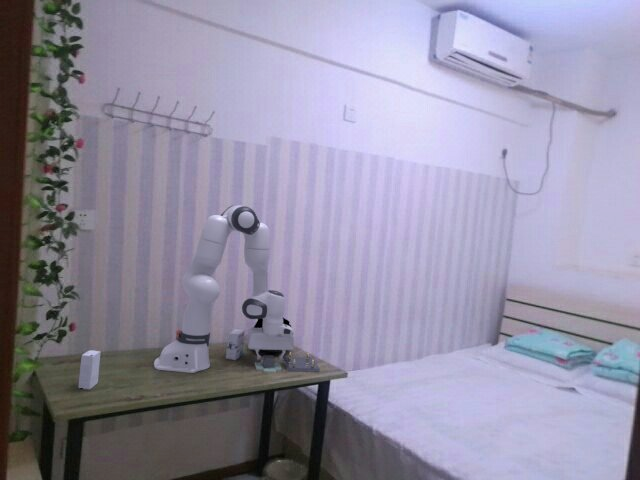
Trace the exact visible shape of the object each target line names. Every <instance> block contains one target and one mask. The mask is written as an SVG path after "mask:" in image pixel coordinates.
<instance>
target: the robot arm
mask: <svg viewBox="0 0 640 480" xmlns="http://www.w3.org/2000/svg"><path fill="white" fill-rule="evenodd" d="M203 225H204V226H203V228H202V230H201V233H200V236H199V239H198V243H197V247H196V250H195V253H194V256H193V259H192V260H191V262H190V265H189V266H188V269H187V270H186V272H185V274H184V275H182V278H181V287H182V289H183V291H184V293H186V294H187V295H188V297H189V298H188V301H187V306H186V309H185V310H184V312H183V317H182V328H181V329H177V330H176V332H175V334H176V337H175V340H173V341H172V342H171V343H169V344H167V345H166V346H164V348H163V349H162V351H161V353H160V356H159V357H157V358H156V359H155V360H154V362H153V367H154V369H155V370H158V371H166V372H167V371H169V372H178V373H190V374H194V373H197V372H199V371H204V370H206V369H208V368H210V367H211V364H210V359H209V358H210V357H209V346H210V341H211V332H210V328H211V320H212V319H211V318H212V313H213V310H214V307H215V303H216V300H217V299H218V298H219V296H220V293H221V288H220V286H219V284H218V282H217V281H216V279H215V278H213V275H215V274H214V273H215V272H216V269H217V268H218V266H219V265H220V264H221V263H222V260H223V257H224V254H225V250H226V247H227V243H228V239H229V237H230V234H231V233H232V232H234V231H235V232H239V233H242V234H243V239H244V244H243V246H244V247H243V249H244V250H243V254H244V262H245V264H246V266H248V267H249V268H250V269H251V272H252V279H253V280H252V281H253V283H252V285H253V287H252V288H253V289H252V292H251V293H252V294H251V296H249V297H248V298H247V299H245V300H244V301H243V303H242V306H241V311H242V313H243V316H245V318H248V319H249V320H258V319H263V326H262V328H255V327H254V326H253V327H252V328H249V330H248V332H247V337H248V340H247V348H248V349H249V350H254V351H255V353H256V360H261V359H262V354H260V353H259V352H260V350H262V351H264V350H281V353H280V354H278V358H277V359H278V360H281V361H283V357H284V356H285V354H286V351H293V350H294V348H295V337H294V330H293V328H292V326H291V327H290V326H288V325H285V324H283V318H284V314H285V309H286V302H285V301H286V300H285V295H284V294H283V293H282V292H280V291H278V290H270V289H269V290H268V266H269V260H270V254H271V252H270V251H271V238H270V230H269V229H270V228H269V227H268V226H267V224H265V223H264V222H260V220H259V218H258V216H257V213H256V212H255V211H254V209H252V208H251V207H249V206H246V205H243V204H235V205H234V204H233V205H230V206H228V207H227V208H226V209H225V210H224V211H223V212H222V213H221V214H220V215H219V214H214V215H210V216H209V217H208V218H207V219H206V221H205V223H204V224H203ZM292 334H293V335H292Z"/></svg>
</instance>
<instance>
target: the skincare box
mask: <svg viewBox="0 0 640 480" xmlns="http://www.w3.org/2000/svg"><path fill="white" fill-rule="evenodd" d="M80 359H81V360H80V367H79V378H78V389H80V388H83V389H82V390H91V389H92V388H94V387H95V386H96V385H97V384H98V383H99V374H100V372H99V371H100V363H101V351H100V350H93V349H92V350H91V349H90V350H88V351H86V352H84V353H83V354H81V358H80Z"/></svg>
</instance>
